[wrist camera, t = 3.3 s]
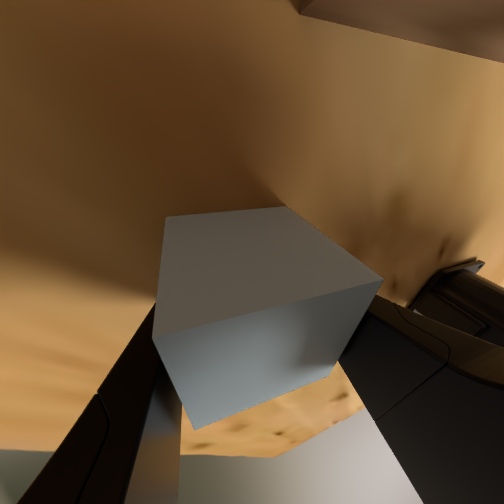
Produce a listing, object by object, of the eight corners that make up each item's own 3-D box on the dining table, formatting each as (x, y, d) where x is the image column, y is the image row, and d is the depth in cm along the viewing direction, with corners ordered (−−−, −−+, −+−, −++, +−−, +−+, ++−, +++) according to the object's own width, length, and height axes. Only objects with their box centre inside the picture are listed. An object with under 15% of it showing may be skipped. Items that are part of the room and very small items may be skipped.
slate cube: (286, 205, 8) (384, 279, 4) (274, 287, 11) (328, 376, 7) (165, 216, 7) (151, 338, 3) (187, 306, 10) (194, 430, 6)
